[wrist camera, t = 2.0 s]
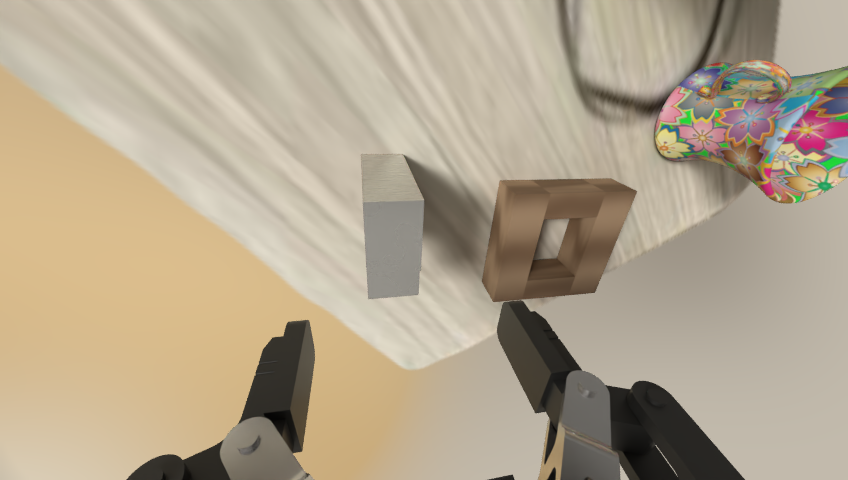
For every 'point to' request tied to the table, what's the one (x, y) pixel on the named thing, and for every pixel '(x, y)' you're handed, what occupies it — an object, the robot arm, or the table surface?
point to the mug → (762, 126)
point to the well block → (582, 244)
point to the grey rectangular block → (391, 226)
